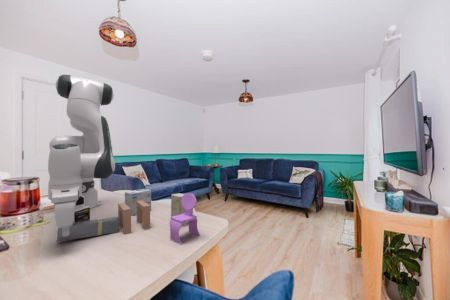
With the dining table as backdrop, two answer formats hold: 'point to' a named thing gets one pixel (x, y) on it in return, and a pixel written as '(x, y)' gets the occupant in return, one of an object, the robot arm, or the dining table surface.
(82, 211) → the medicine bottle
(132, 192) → the light bulb box
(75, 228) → the steel block
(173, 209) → the skincare box
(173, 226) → the toy chair
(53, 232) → the dining table surface
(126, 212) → the brick collars
